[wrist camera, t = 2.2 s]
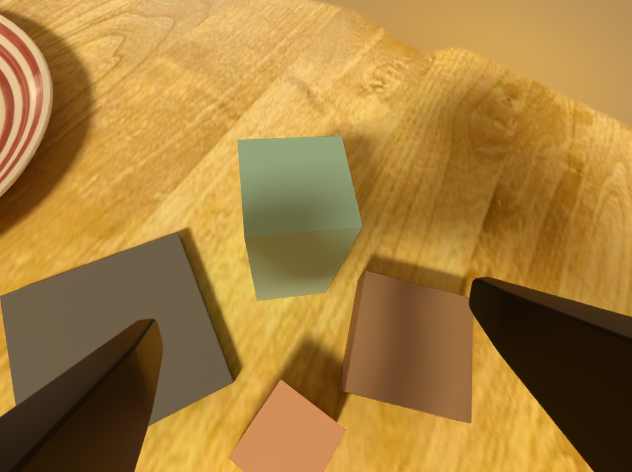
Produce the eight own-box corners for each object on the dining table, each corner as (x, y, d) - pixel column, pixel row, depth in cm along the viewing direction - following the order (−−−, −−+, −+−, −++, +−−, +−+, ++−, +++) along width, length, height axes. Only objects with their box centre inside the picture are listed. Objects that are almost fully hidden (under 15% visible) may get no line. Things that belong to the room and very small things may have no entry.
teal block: (325, 292, 22) (362, 226, 13) (257, 301, 21) (244, 237, 12) (315, 231, 23) (341, 135, 14) (252, 237, 23) (237, 139, 14)
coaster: (234, 381, 19) (232, 381, 18) (38, 482, 16) (27, 487, 15) (180, 237, 22) (177, 232, 21) (10, 299, 19) (-1, 296, 18)
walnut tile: (453, 307, 23) (473, 298, 20) (448, 418, 20) (471, 423, 17) (356, 281, 23) (365, 270, 20) (336, 390, 20) (345, 391, 17)
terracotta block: (281, 379, 16) (280, 380, 19) (228, 457, 15) (235, 446, 18) (346, 430, 16) (335, 423, 19) (298, 517, 14) (294, 495, 17)
